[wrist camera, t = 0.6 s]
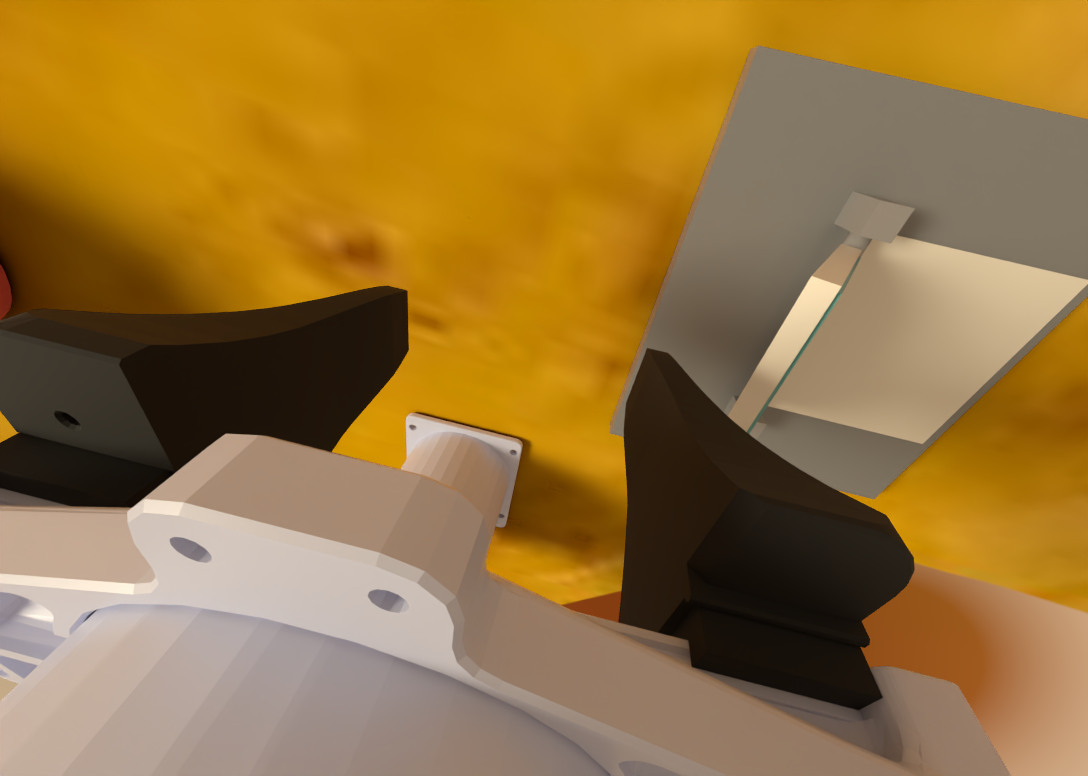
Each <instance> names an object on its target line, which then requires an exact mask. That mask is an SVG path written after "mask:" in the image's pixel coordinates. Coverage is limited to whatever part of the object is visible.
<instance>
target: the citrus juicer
mask: <svg viewBox="0 0 1088 776" xmlns="http://www.w3.org/2000/svg"><path fill="white" fill-rule="evenodd" d="M11 302H12V296H11V288H10V285H9V282H8V280H7V277H6V274H5V272H4V270H3V268H2V266H1V265H0V320H1V319H2V318H3V317H4V316H5V315H6V314H7V312H8V311H9V310H10V307H11Z"/></svg>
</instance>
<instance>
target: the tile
mask: <svg viewBox="0 0 1088 776" xmlns="http://www.w3.org/2000/svg"><path fill="white" fill-rule="evenodd" d="M861 251H862V250H860V249H857V248H854V247H851V246H847V245H844V244H841V245H840V246H839V247H838V248H837V249H836V250H835V251H834V252H833V253H832V254H831V255H830V257H829V258H828V259H827V260H826V261H825V262H824V263H823V264H822V265H821V266H820V267H819V268H818V269H817V271H816V272H815V273H814V274H813V275H812V276H811V278H810V279H809V281H808V283H807V284H806V286H805V288H804V289H803V291H802V293H801V294H800V296H799V298H798V299H797V301H796V303H795V304H794V306H793V308H792V309H791V311H790V313H789V314H788V316H787V318H786V319H785V321H784V323H783V324H782V326H781V328H780V329H779V331H778V333H777V334H776V336H775V338H774V339H773V341H772V343H771V344H770V346H769V348H768V349H767V351H766V353H765V354H764V356H763V358H762V359H761V361H760V363H759V365H758V366H757V368H756V370H755V371H754V373H753V375H752V376H751V378H750V380H749V381H748V383H747V385H746V386H745V388H744V390H743V391H742V393H741V395H740V396H739V398H738V400H737V401H736V403H735V405H734V406H733V408H732V410H731V411H730V413H729V415H728V417H729V418H730V419H731V420H733V421H734V422H735V423H736V424H737V425H739V426H740V427H741V428H742V429H743V430H745V431H746V432H747V433H748V434H750V432H751V431H752V429H753V428H754V426H755V425H756V423H757V422H758V420H759V418H760V417H761V415H762V414H763V412H764V411H765V409H766V408H767V406H768V405H769V403H770V402H771V400H772V399H773V397H774V396H775V394H776V393H777V391H778V390H779V388H780V387H781V385H782V384H783V382H784V381H785V379H786V378H787V376H788V375H789V373H790V372H791V370H792V369H793V367H794V366H795V364H796V363H797V361H798V360H799V358H800V357H801V355H802V354H803V352H804V351H805V349H806V348H807V346H808V345H809V343H810V342H811V340H812V339H813V337H814V336H815V334H816V333H817V331H818V330H819V328H820V327H821V325H822V324H823V322H824V321H825V319H826V318H827V316H828V314H829V313H830V311H831V310H832V308H833V307H834V305H835V304H836V302H837V301H838V299H839V298H840V296H841V295H842V293H843V291H844V289H845V287H846V286H847V284H848V282H849V280H850V278H851V276H852V274H853V272H854V270H855V268H856V266H857V265H858V263H859V261H860V259H861V257H859V255H860V253H861Z"/></svg>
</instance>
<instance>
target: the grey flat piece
mask: <svg viewBox="0 0 1088 776" xmlns="http://www.w3.org/2000/svg"><path fill="white" fill-rule="evenodd" d="M841 244H844V245H847V246H851V247H854V248H857V249H860V250H862V251H861V253H860V255H859V257H861V259H860V261H859V263H858V265H857V266H856V268H855V270H854V272H853V274H852V276H851V278H850V280H849V282H848V284H847V286H846V287H845V289H844V291H843V293H842V295H841V296H840V298H839V299H838V301H837V302H836V304H835V305H834V307H833V308H832V310H831V311H830V313H829V314H828V316H827V318H826V319H825V321H824V322H823V324H822V325H821V327H820V328H819V330H818V331H817V333H816V334H815V336H814V337H813V339H812V340H811V342H810V343H809V345H808V346H807V348H806V349H805V351H804V352H803V354H802V355H801V357H800V358H799V360H798V361H797V363H796V364H795V366H794V367H793V369H792V370H791V372H790V373H789V375H788V376H787V378H786V379H785V381H784V382H783V384H782V385H781V387H780V388H779V390H778V391H777V393H776V394H775V396H774V397H773V399H772V400H771V402H770V403H769V405H768V406H767V408H766V409H765V411H764V412H763V414H762V415H761V417H760V418H759V420H758V422H757V423H756V425H755V426H754V428H753V429H752V431H751V432H750V435H751V436H752V437H753V438H755V439H756V440H757V441H759V442H760V443H761V444H763V445H764V446H766V447H767V448H768V449H770V450H771V451H773V452H774V453H776V454H777V455H779V456H780V457H782V458H783V459H784V460H786V461H788V462H789V463H791V464H792V465H794V466H795V467H797V468H799V469H800V470H802V471H804V472H805V473H807V474H809V475H810V476H812V477H814V478H816V479H817V480H819V481H821V482H823V483H824V484H826V485H828V486H830V487H831V488H833V489H835V490H839V491H843V492H847V493H851V494H855V495H859V496H863V497H867V498H871V499H875V498H876V497H877V496H878V495H879V494H880V493H881V492H882V491H883V490H884V489H885V488H886V487H887V486H888V485H889V484H890V483H892V482H893V481H894V480H895V479H896V478H897V477H898V476H899V475H900V474H901V473H902V472H903V471H904V470H905V469H906V468H907V467H908V466H909V465H910V464H912V463H913V462H914V461H915V460H916V459H917V458H918V457H919V456H920V455H921V454H922V453H923V452H924V451H925V450H926V449H927V448H928V447H929V446H930V445H932V444H933V443H934V442H935V441H936V440H937V439H938V438H939V437H940V436H941V435H942V434H943V433H944V432H945V431H946V430H947V429H948V428H949V427H950V426H951V425H953V424H954V423H955V422H956V421H957V420H958V419H959V418H960V417H961V416H962V415H963V414H964V413H965V412H966V411H967V410H968V409H969V408H970V407H971V406H973V405H974V404H975V403H976V402H977V401H978V400H979V399H980V398H981V397H982V396H983V395H984V394H985V393H986V392H987V391H988V390H989V389H990V388H991V387H993V386H994V385H995V384H996V383H997V382H998V381H999V380H1000V379H1001V378H1002V377H1003V376H1004V375H1005V374H1006V373H1007V372H1008V371H1009V370H1010V369H1011V368H1013V367H1014V366H1015V365H1016V364H1017V363H1018V362H1019V361H1020V360H1021V359H1022V358H1023V357H1024V356H1025V355H1026V354H1027V353H1028V352H1029V351H1030V350H1031V349H1033V348H1034V347H1035V346H1036V345H1037V344H1038V343H1039V342H1040V341H1041V340H1042V339H1043V338H1044V337H1045V336H1046V335H1047V334H1048V333H1049V332H1050V331H1051V330H1052V329H1054V328H1055V327H1056V326H1057V325H1058V324H1059V323H1060V322H1061V321H1062V320H1063V319H1064V318H1065V317H1066V316H1067V315H1068V314H1069V313H1070V312H1071V311H1072V310H1074V309H1075V308H1076V307H1077V306H1078V305H1079V304H1080V303H1081V302H1082V301H1083V300H1084V299H1085V298H1086V297H1087V296H1088V119H1084V118H1079V117H1075V116H1070V115H1066V114H1061V113H1057V112H1052V111H1048V110H1043V109H1039V108H1034V107H1030V106H1025V105H1021V104H1017V103H1012V102H1008V101H1003V100H999V99H994V98H990V97H985V96H981V95H976V94H972V93H967V92H963V91H958V90H954V89H950V88H945V87H941V86H936V85H932V84H927V83H923V82H918V81H914V80H909V79H905V78H900V77H896V76H891V75H887V74H883V73H878V72H874V71H869V70H865V69H860V68H856V67H851V66H847V65H842V64H838V63H833V62H829V61H824V60H820V59H815V58H811V57H807V56H802V55H798V54H793V53H789V52H784V51H780V50H775V49H771V48H766V47H762V46H757V47H755V48H753V49H751V50H750V53H749V55H748V58H747V61H746V63H745V66H744V69H743V71H742V74H741V77H740V79H739V82H738V84H737V87H736V90H735V92H734V95H733V98H732V100H731V103H730V106H729V108H728V111H727V114H726V116H725V119H724V122H723V124H722V127H721V130H720V132H719V135H718V138H717V140H716V143H715V146H714V148H713V151H712V154H711V156H710V159H709V162H708V164H707V167H706V170H705V172H704V175H703V178H702V180H701V183H700V186H699V188H698V191H697V194H696V196H695V199H694V202H693V204H692V207H691V210H690V212H689V215H688V218H687V220H686V223H685V225H684V228H683V231H682V233H681V236H680V239H679V241H678V244H677V247H676V249H675V252H674V255H673V257H672V260H671V263H670V265H669V268H668V271H667V273H666V276H665V279H664V281H663V284H662V287H661V289H660V292H659V295H658V297H657V300H656V303H655V305H654V308H653V311H652V313H651V316H650V319H649V321H648V324H647V327H646V329H645V332H644V335H643V337H642V340H641V343H640V345H639V348H638V351H637V353H636V356H635V359H634V361H633V364H632V366H631V369H630V372H629V374H628V377H627V380H626V382H625V385H624V388H623V390H622V393H621V396H620V398H619V401H618V404H617V406H616V409H615V412H614V414H613V417H612V420H611V422H610V433H611V434H615V435H619V436H623V437H624V418H625V408H626V402H627V399H628V396H629V394H630V391H631V389H632V386H633V383H634V381H635V378H636V376H637V373H638V370H639V368H640V365H641V362H642V360H643V357H644V355H645V352H646V349H647V348H650V349H654V350H658V351H663V352H667V353H669V354H670V355H671V356H672V357H673V358H674V359H675V360H676V361H677V363H678V364H679V365H680V366H681V367H682V368H683V369H684V371H685V372H686V373H687V374H688V375H689V376H690V378H691V379H692V380H693V381H694V382H695V383H696V384H697V386H698V387H699V388H700V389H701V390H702V391H703V392H704V393H705V394H706V395H707V396H708V397H709V398H710V399H711V400H712V401H713V402H714V403H715V404H716V405H717V406H718V407H719V408H720V409H721V410H722V411H723V412H724V413H725V414H726V415H727V416H728V415H729V413H730V411H731V410H732V408H733V406H734V405H735V403H736V401H737V400H738V398H739V396H740V395H741V393H742V391H743V390H744V388H745V386H746V385H747V383H748V381H749V380H750V378H751V376H752V375H753V373H754V371H755V370H756V368H757V366H758V365H759V363H760V361H761V359H762V358H763V356H764V354H765V353H766V351H767V349H768V348H769V346H770V344H771V343H772V341H773V339H774V338H775V336H776V334H777V333H778V331H779V329H780V328H781V326H782V324H783V323H784V321H785V319H786V318H787V316H788V314H789V313H790V311H791V309H792V308H793V306H794V304H795V303H796V301H797V299H798V298H799V296H800V294H801V293H802V291H803V289H804V288H805V286H806V284H807V283H808V281H809V279H810V278H811V276H812V275H813V274H814V273H815V272H816V271H817V269H818V268H819V267H820V266H821V265H822V264H823V263H824V262H825V261H826V260H827V259H828V258H829V257H830V255H831V254H832V253H833V252H834V251H835V250H836V249H837V248H838V247H839V246H840V245H841Z"/></svg>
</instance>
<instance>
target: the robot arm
mask: <svg viewBox="0 0 1088 776" xmlns="http://www.w3.org/2000/svg"><path fill="white" fill-rule="evenodd" d="M408 350H409V345H408V298H407V290H403V289H399V288H394V287H390V286H379V287H373V288H367V289H362V290H358V291H353V292H349V293H344V294H340V295H336V296H331V297H327V298H322V299H317V300H312V301H307V302H302V303H296V304H291V305H286V306H279V307H273V308H265V309H256V310H248V311H237V312H220V313H202V314H121V313H102V312H86V311H70V310H56V309H37V310H31V311H27V312H24V313H21V314H18V315H15V316H12V317H9V318H6V319H3V320H0V411H1V413H2V414H3V415H4V416H5V418H6V419H7V420H8V421H9V423H10V424H11V425H12V426H13V428H14V429H15V430H16V431H17V432H20V433H18V434H16V435H14V436H12V437H10V438H8V439H6V440H5V441H3V442H1V443H0V677H1V678H4V679H6V680H9V681H12V682H15V683H18V685H17V686H16V687H15V688H14V689H13V690H12V691H11V692H10V693H9V694H7V695H6V696H5V697H4V698H3V699H2V700H1V701H0V776H1011V775H1010V773H1009V771H1008V770H1007V768H1006V766H1005V765H1004V763H1003V761H1002V760H1001V758H1000V756H999V755H998V753H997V751H996V749H995V748H994V746H993V745H992V743H991V741H990V739H989V738H988V736H987V734H986V733H985V731H984V729H983V727H982V726H981V724H980V722H979V721H978V719H977V717H976V716H975V714H974V712H973V711H972V709H971V707H970V705H969V704H968V702H967V700H966V699H965V697H964V695H963V694H962V692H961V691H960V688H959V687H958V686H957V685H956V684H954V683H952V682H950V681H947V680H943V679H939V678H935V677H931V676H928V675H924V674H920V673H916V672H912V671H908V670H904V669H900V668H896V667H889V666H878V667H872V668H869V665H868V663H867V661H866V659H865V656H864V654H863V652H862V650H861V648H860V647H864V648H865V647H866V646H868V645H869V643H870V638H869V636H868V634H867V632H866V630H865V628H864V626H863V624H862V620H863V619H865V618H866V617H867V616H869V615H870V614H872V613H873V612H874V611H876V610H877V609H879V608H880V607H881V606H883V605H884V604H886V603H887V602H888V601H890V600H891V599H892V598H894V597H895V596H896V595H897V594H898V593H900V591H902V590H903V589H904V588H905V587H906V586H907V584H908V583H909V580H910V579H911V576H912V574H913V572H914V558H913V556H912V554H911V553H910V551H909V550H908V548H907V547H906V545H905V543H904V542H903V540H902V539H901V537H900V536H899V534H898V533H897V531H896V529H895V528H894V526H893V525H892V523H891V522H890V520H889V518H888V517H887V516H886V515H885V514H883V513H881V512H879V511H877V510H875V509H873V508H871V507H869V506H867V505H865V504H863V503H861V502H859V501H857V500H855V499H853V498H851V497H849V496H847V495H845V494H843V493H841V492H839V491H837V490H835V489H833V488H831V487H830V486H828V485H826V484H824V483H823V482H821V481H819V480H817V479H816V478H814V477H812V476H810V475H809V474H807V473H805V472H804V471H802V470H800V469H799V468H797V467H795V466H794V465H792V464H791V463H789V462H788V461H786V460H784V459H783V458H782V457H780V456H779V455H777V454H776V453H774V452H773V451H771V450H770V449H768V448H767V447H766V446H764V445H763V444H761V443H760V442H759V441H757V440H756V439H755V438H753V437H752V436H751V435H750V434H748V433H747V432H746V431H745V430H743V429H742V428H741V427H740V426H739V425H737V424H736V423H735V422H734V421H733V420H731V419H730V418H729V417H728V416H727V415H726V414H725V413H724V412H723V411H722V410H721V409H720V408H719V407H718V406H717V405H716V404H715V403H714V402H713V401H712V400H711V399H710V398H709V397H708V396H707V395H706V394H705V393H704V392H703V391H702V390H701V389H700V388H699V387H698V386H697V384H696V383H695V382H694V381H693V380H692V379H691V378H690V376H689V375H688V374H687V373H686V372H685V371H684V369H683V368H682V367H681V366H680V365H679V364H678V363H677V361H676V360H675V359H674V358H673V357H672V356H671V355H670V354H669V353H667V352H663V351H658V350H654V349H650V348H647V349H646V352H645V355H644V357H643V360H642V362H641V365H640V368H639V370H638V373H637V376H636V378H635V381H634V383H633V386H632V389H631V391H630V394H629V396H628V399H627V402H626V408H625V418H624V447H625V463H626V478H627V501H628V507H627V526H626V543H625V557H624V570H623V581H622V592H621V603H620V613H619V622H614V621H610V620H606V619H602V618H598V617H595V616H591V615H587V614H583V613H579V612H575V611H572V610H570V609H568V608H566V607H563V606H561V605H559V604H557V603H555V602H553V601H551V600H549V599H547V598H545V597H542V596H540V595H538V594H536V593H534V592H532V591H530V590H528V589H526V588H524V587H521V586H519V585H517V584H515V583H513V582H511V581H509V580H507V579H505V578H502V577H500V576H498V575H496V574H494V573H492V572H490V571H488V570H486V558H487V553H488V549H489V546H490V543H491V540H492V536H493V533H494V530H495V526H496V527H504V526H505V525H506V522H507V518H508V513H509V508H510V504H511V499H512V494H513V490H514V485H515V480H516V476H517V471H518V466H519V462H520V457H521V452H522V448H523V443H522V441H520V440H519V439H516V438H512V437H508V436H504V435H500V434H496V433H492V432H488V431H484V430H480V429H476V428H472V427H468V426H464V425H461V424H457V423H453V422H449V421H445V420H441V419H437V418H433V417H429V416H425V415H421V414H417V413H410V414H409V415H408V416H407V417H406V444H407V460H406V461H405V463H404V464H403V466H402V468H401V469H397V468H393V467H389V466H385V465H381V464H377V463H373V462H369V461H365V460H361V459H357V458H353V457H349V456H345V455H341V454H337V453H333V452H332V450H333V449H334V447H335V446H336V444H337V443H338V441H339V440H340V438H341V437H342V436H343V434H344V433H345V432H346V430H347V429H348V428H349V427H350V425H351V424H352V423H353V422H354V420H355V419H356V418H357V417H358V416H359V415H360V414H361V412H362V411H363V410H364V409H365V408H366V407H367V405H368V404H369V403H370V402H371V401H372V400H373V399H374V397H375V396H376V395H377V394H378V393H379V392H380V390H381V389H382V388H383V387H384V386H385V385H386V383H387V382H388V381H389V380H390V379H391V377H392V376H393V375H394V374H395V372H396V370H397V369H398V367H399V366H400V364H401V363H402V361H403V359H404V357H405V356H406V354H407V352H408ZM412 424H413V425H415V426H416V427H415V426H413V425H412ZM512 450H515V451H516V452H514V451H512Z"/></svg>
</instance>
